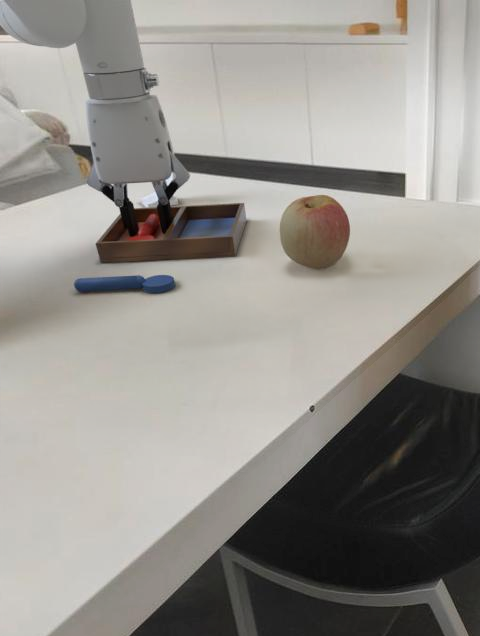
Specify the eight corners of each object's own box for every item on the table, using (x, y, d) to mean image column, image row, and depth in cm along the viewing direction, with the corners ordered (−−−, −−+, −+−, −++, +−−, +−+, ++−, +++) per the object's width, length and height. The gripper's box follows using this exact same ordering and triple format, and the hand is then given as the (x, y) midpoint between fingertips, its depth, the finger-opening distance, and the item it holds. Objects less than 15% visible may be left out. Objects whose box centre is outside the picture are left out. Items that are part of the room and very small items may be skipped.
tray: (100, 263, 91) (95, 243, 90) (128, 226, 104) (123, 208, 102) (235, 256, 91) (232, 236, 90) (246, 220, 104) (244, 202, 102)
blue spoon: (80, 286, 85) (77, 273, 84) (177, 281, 85) (175, 268, 84) (71, 297, 82) (67, 284, 81) (172, 292, 82) (169, 279, 81)
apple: (342, 250, 92) (338, 187, 87) (358, 272, 85) (356, 205, 80) (278, 258, 90) (271, 194, 85) (289, 281, 83) (282, 213, 78)
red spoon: (169, 223, 102) (166, 212, 101) (152, 249, 92) (150, 237, 91) (143, 224, 102) (141, 213, 101) (124, 251, 92) (121, 239, 91)
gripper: (188, 79, 90) (212, 221, 101) (61, 86, 90) (99, 227, 101) (178, 87, 84) (205, 237, 95) (42, 94, 84) (85, 244, 95)
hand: (150, 230), depth 98 cm, fingers open, 4 cm apart
